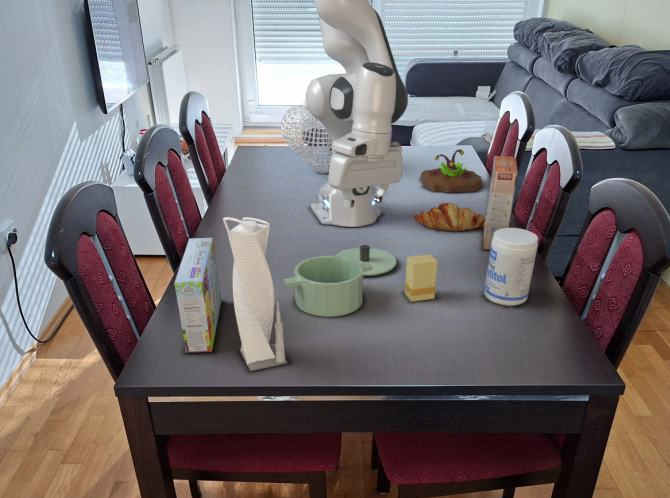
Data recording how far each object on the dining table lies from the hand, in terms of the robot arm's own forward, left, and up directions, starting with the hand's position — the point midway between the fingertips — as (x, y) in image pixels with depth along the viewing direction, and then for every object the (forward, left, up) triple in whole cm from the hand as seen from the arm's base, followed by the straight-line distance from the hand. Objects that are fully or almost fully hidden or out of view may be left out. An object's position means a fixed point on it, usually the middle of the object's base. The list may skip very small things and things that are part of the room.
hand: (363, 204), depth 150 cm
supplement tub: (+29, +21, -16) cm, 39 cm away
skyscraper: (+28, -37, -16) cm, 49 cm away
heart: (-74, +25, -16) cm, 80 cm away
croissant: (-12, +35, -16) cm, 40 cm away
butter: (+20, +4, -16) cm, 25 cm away
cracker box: (+1, +39, -16) cm, 42 cm away
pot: (+13, -15, -15) cm, 25 cm away
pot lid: (-1, +1, -15) cm, 15 cm away
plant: (-45, +58, -16) cm, 75 cm away
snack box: (+12, -43, -16) cm, 47 cm away
